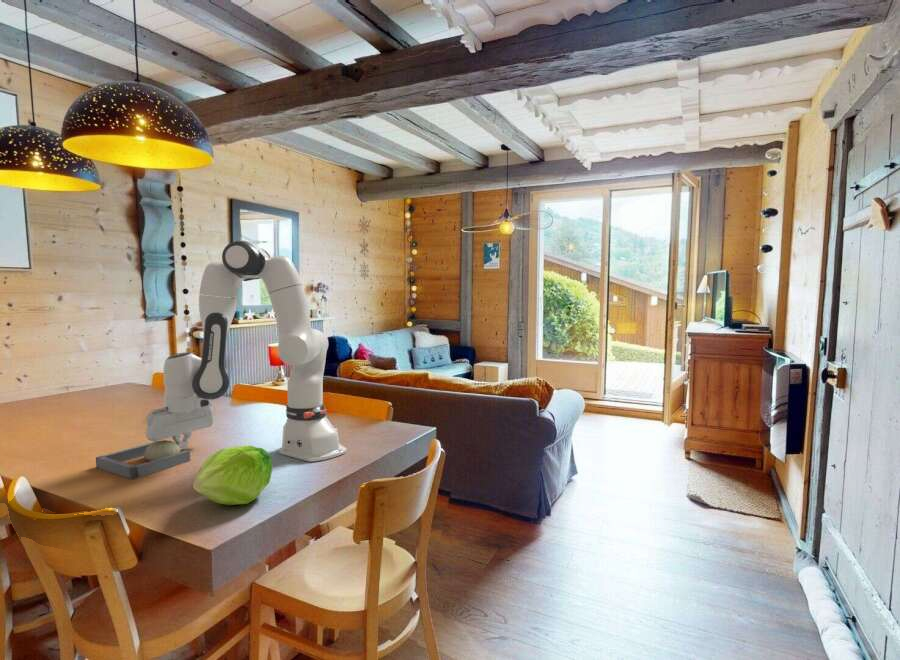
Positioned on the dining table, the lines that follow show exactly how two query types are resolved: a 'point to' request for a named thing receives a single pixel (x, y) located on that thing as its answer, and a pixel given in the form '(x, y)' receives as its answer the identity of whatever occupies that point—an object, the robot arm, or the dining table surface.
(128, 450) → the bay
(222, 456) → the lettuce
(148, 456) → the sea urchin shell
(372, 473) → the dining table surface
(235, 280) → the robot arm
